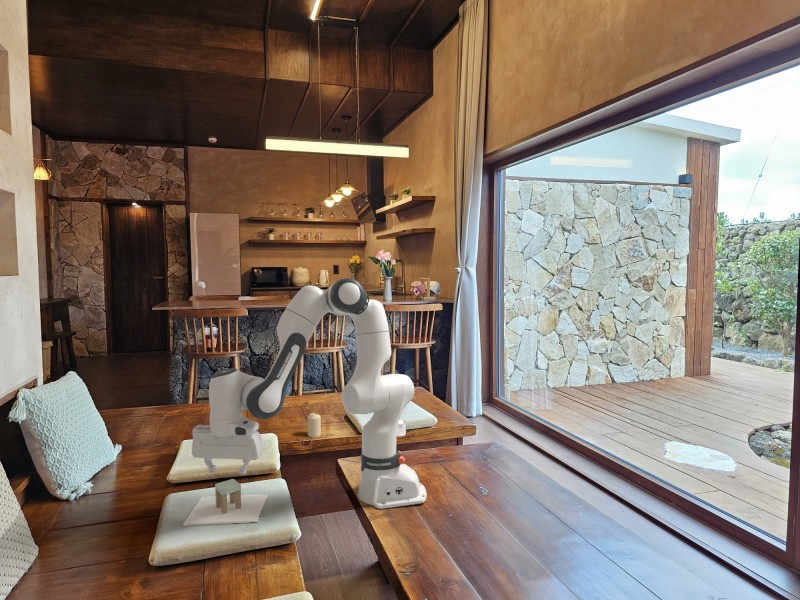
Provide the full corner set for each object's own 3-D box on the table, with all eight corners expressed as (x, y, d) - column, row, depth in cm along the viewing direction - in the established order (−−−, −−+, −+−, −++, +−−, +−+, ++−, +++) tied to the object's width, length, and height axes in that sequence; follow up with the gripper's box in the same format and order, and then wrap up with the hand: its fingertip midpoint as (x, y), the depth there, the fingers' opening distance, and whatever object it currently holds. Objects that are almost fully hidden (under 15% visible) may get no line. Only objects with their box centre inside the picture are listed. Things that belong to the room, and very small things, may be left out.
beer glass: (388, 457, 211) (388, 423, 210) (391, 451, 218) (391, 418, 216) (404, 458, 210) (404, 424, 208) (406, 452, 216) (407, 419, 215)
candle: (318, 439, 203) (317, 416, 202) (305, 438, 204) (305, 415, 203) (322, 435, 208) (322, 412, 207) (310, 434, 209) (310, 411, 208)
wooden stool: (233, 501, 148) (233, 478, 147) (241, 507, 143) (241, 484, 143) (215, 507, 144) (215, 484, 143) (223, 514, 140) (222, 490, 139)
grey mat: (267, 496, 152) (267, 494, 152) (257, 522, 136) (257, 520, 136) (201, 498, 150) (201, 496, 150) (183, 525, 134) (183, 523, 134)
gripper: (186, 428, 139) (187, 475, 139) (254, 430, 136) (256, 478, 137) (198, 421, 145) (199, 467, 146) (264, 423, 142) (265, 469, 143)
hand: (227, 472), depth 141 cm, fingers open, 8 cm apart
